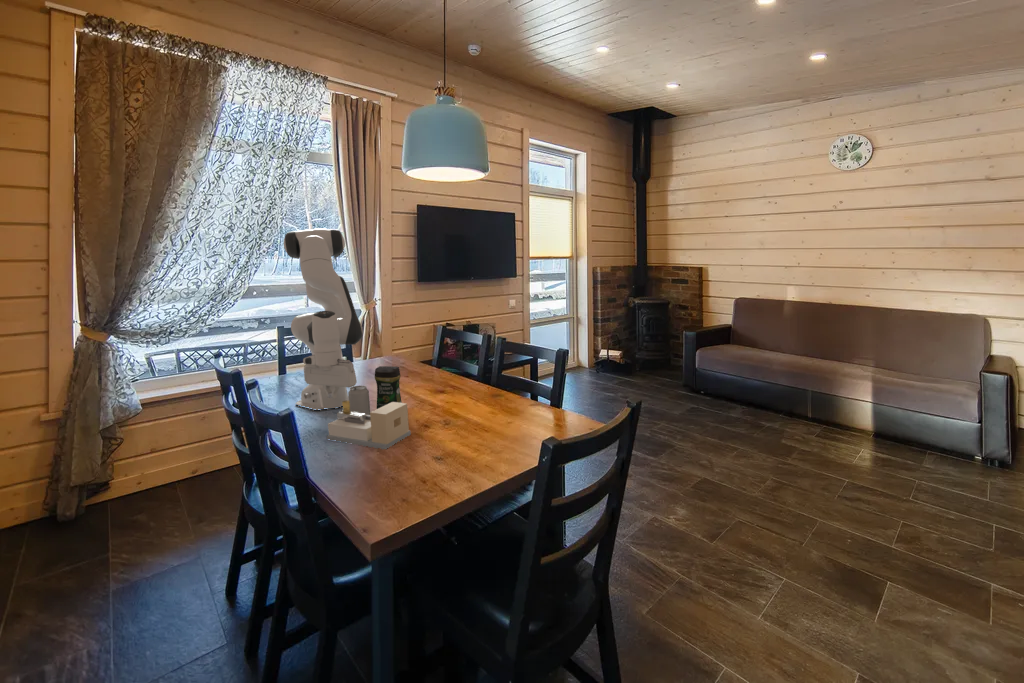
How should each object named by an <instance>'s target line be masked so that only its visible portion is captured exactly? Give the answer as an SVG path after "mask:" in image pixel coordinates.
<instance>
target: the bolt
mask: <svg viewBox="0 0 1024 683" xmlns="http://www.w3.org/2000/svg"><path fill="white" fill-rule="evenodd" d="M342 406H343V407H342V410H340V411H339V412H336V420H337V419H344V418H351V419H358V420H366V414H365V413H358V412H351V411H350V401H343V402H342Z"/></svg>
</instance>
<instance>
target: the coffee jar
mask: <svg viewBox="0 0 1024 683" xmlns="http://www.w3.org/2000/svg"><path fill="white" fill-rule="evenodd" d="M400 379H401V370H400V367H399V366H394V365H393V366H390V365H386V366H385V365H379V366H377V367H376V368H375V370H374V381H375V384H376V409H378V408H380V407H383V406H385V405H387V404H389V403H391V402H398V403H403V402H402V397H401V388H400Z"/></svg>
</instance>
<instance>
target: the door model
mask: <svg viewBox="0 0 1024 683" xmlns="http://www.w3.org/2000/svg"><path fill="white" fill-rule="evenodd" d="M408 410H409V409H408V403H404V402H402V403H398V402H391V403H389V404H387V405H385V406H383V407H380V408H378V409H377V408H376V409H374V410H372V411H370V415H366V420H358V419H351V418H344V419H337V418H336V420H333V421H331V422H329V423H327V427H328V428H327V429H328V435H326V440H327V439H330V440H336V441H341V442H340V443H342V442H347V443H346V444H348V443H352V444H351V445H354V444H358V445H357V446H360V445H363V446H362V447H366V446H368V447H367V448H372V447H374V449H378V448H381V449H380V450H384V449H386V450H388V449H390V448H391V447H393V446H394V444H395V443H396V444H397V442H398V441H399V442H401V441H403V440H404V439H406V438H408V437H409V436H411V433H412V432H411V430H410V428H409V414H408ZM407 436H408V437H407ZM405 437H406V438H405ZM402 439H403V440H402ZM330 440H329V441H330ZM400 440H401V441H400ZM336 441H335V442H336ZM399 442H398V443H399ZM396 444H395V445H396ZM392 445H393V446H392ZM390 446H391V447H390ZM389 447H390V448H389ZM387 448H388V449H387Z"/></svg>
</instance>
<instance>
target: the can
mask: <svg viewBox="0 0 1024 683" xmlns="http://www.w3.org/2000/svg"><path fill="white" fill-rule="evenodd" d="M347 393H348V396H349V401H350V411H351V412H358V413H365V414H366V415H370V412H371V404H370V402H371V400H370V391H369V389H368V388H367V386H366V385H355V386H352V387H349V391H347Z"/></svg>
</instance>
